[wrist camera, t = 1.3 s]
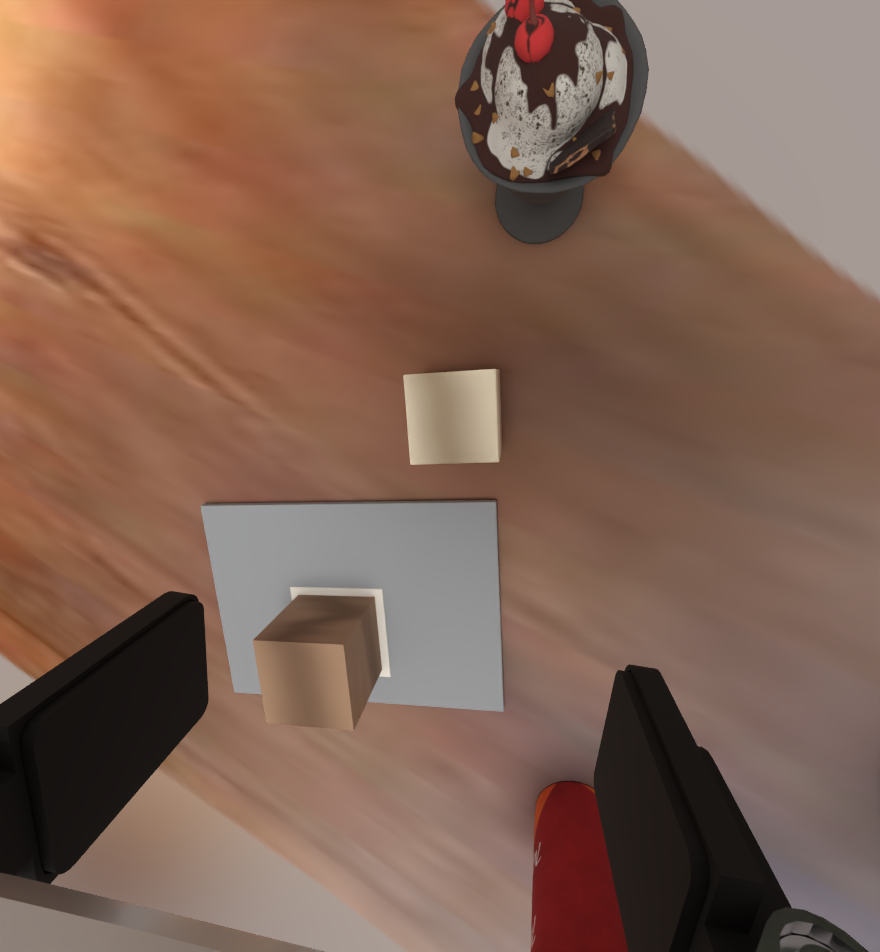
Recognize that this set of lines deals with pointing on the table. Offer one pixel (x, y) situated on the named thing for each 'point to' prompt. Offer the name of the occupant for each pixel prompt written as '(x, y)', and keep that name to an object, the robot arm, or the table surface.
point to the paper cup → (572, 875)
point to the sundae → (550, 106)
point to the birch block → (454, 417)
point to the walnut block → (319, 661)
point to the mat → (371, 587)
